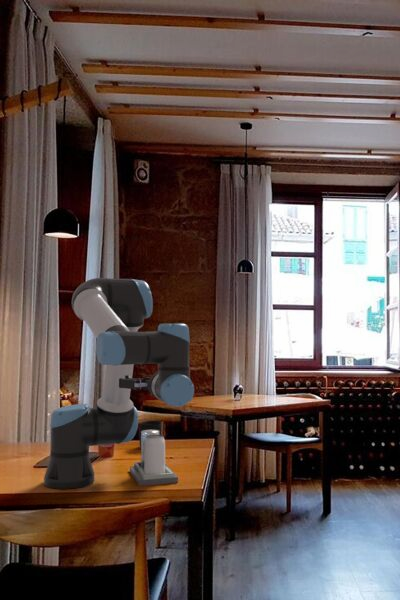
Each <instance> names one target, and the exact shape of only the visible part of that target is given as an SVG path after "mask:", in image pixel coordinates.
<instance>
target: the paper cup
mask: <svg viewBox="0 0 400 600" xmlns="http://www.w3.org/2000/svg"><path fill="white" fill-rule="evenodd" d="M115 445H116V444H106V445H97V448H98V457H99V458H102V459H105V458H107V459H108V458H113V457H114V455H115Z"/></svg>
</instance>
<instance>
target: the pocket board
mask: <svg viewBox="0 0 400 600" xmlns="http://www.w3.org/2000/svg"><path fill="white" fill-rule="evenodd" d="M129 472H130V474H131V476H132V477H133V478H134V480H135V481H136V483H137V484H138V486H139V487H141V486H151V485H163V484H164V485H165V483H166V484H175V483H176V482H177V483H179V477H178V475H177V474H176V473H175V472H174V471H173V470H172V469H171V468H170V467H169V466H168V465H167V464H166V463H165V473H164V474H152V475H146V474H145V473H144V468H141V461H137V462H133V465H132V466H129ZM177 483H176V484H177Z"/></svg>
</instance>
